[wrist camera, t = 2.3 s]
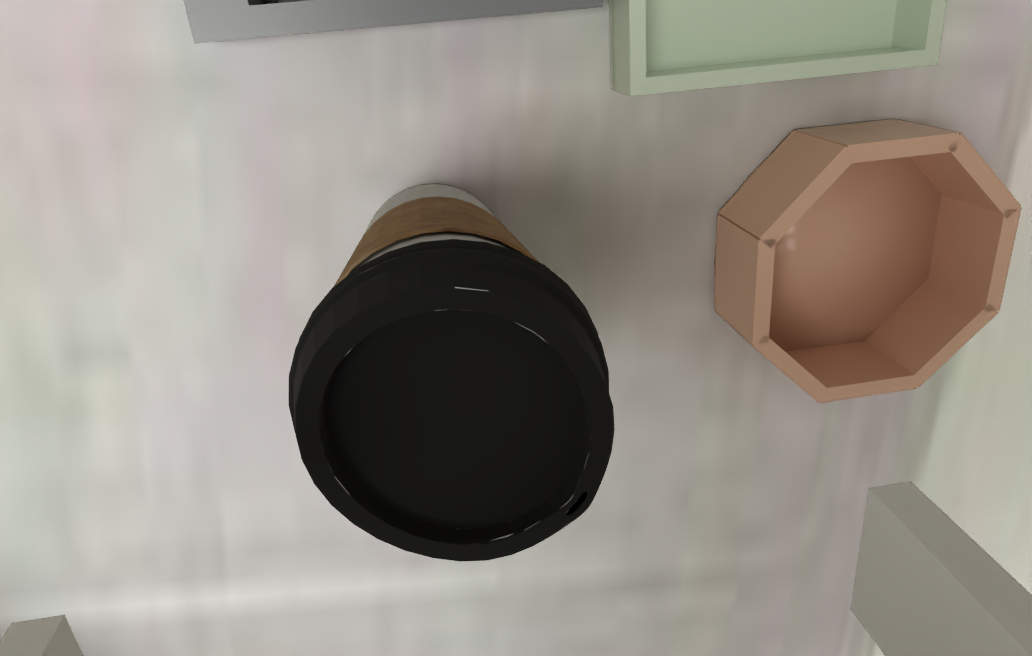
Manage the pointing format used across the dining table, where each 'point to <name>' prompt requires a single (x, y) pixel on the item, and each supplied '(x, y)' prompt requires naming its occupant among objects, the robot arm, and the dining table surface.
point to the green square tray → (765, 40)
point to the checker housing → (346, 14)
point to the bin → (864, 255)
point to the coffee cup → (451, 386)
